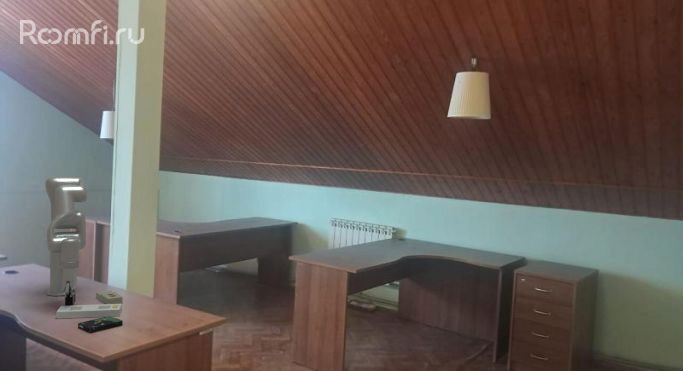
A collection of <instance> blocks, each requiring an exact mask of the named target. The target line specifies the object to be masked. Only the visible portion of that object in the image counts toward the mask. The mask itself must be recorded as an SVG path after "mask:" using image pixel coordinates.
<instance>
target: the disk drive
mask: <svg viewBox="0 0 683 371" xmlns="http://www.w3.org/2000/svg"><path fill="white" fill-rule="evenodd" d="M123 324H124V322H123V320H122V319H120V318H116V317H114V316H113V317H112V316H108V317H98V318H95V319H91V320H85V321H81V322H78V323H77V329H79V330H81V331H84V332H85V333H88V334H93V333H97V332H101V331H106V330H110V329H114V328H118V327H122V326H123Z"/></svg>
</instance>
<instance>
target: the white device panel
mask: <svg viewBox="0 0 683 371" xmlns="http://www.w3.org/2000/svg"><path fill="white" fill-rule="evenodd" d="M122 306H123V303H122V304H104V303H102V304H76V305H75V304H74V305H70V306H65V305H60V307H59V308H58V309H57V311H56V318H55V319H58V320H59V319H85V318H103V317H108V316H112V317H113V318H114V317H120V315H121V312H122V309H123V308H122Z"/></svg>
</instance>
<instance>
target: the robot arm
mask: <svg viewBox="0 0 683 371" xmlns="http://www.w3.org/2000/svg"><path fill="white" fill-rule="evenodd" d="M44 184H45V185H44V186H45V190H46V194H47V196H48V198H49V201H50V223H49V225H48V227H47V230H46V246H47V250H48V252H49V289H48V290H47V291H46V295H47V296H50V297H51V296H52V297H61V296H64V306H70V305H73V297H72V291H73V292H75V293H76V288H77V286H78V285H77V284H78V269H79V268H80V250H83V249H85V248H86V244H87V232H86V231H87V228H86V227H87V226H86V224H87V223H86V222H87V221H86V215H85V213H84V212H83V211H82V210H81V209H80V210H79V209H75V208H76V206H75V203H84V202H86V201H87V199H88V189H87V185H86V182H85V181H84V179H83V178H82V177H80V176H52V177H51V176H50V177H48V178H46V180H45V183H44ZM55 230H73V231H56V232H54V231H55ZM70 292H71V294H70Z"/></svg>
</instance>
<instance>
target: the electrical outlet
mask: <svg viewBox="0 0 683 371" xmlns="http://www.w3.org/2000/svg"><path fill="white" fill-rule="evenodd" d="M95 298H96V299H97V300H98V301H100V302H101V303H102V302H103V303H102V304H122V305H123V298H124V297H123V296H122V295H120V294H119V293H118V292H116V291H112V290H103V291H96V292H95Z"/></svg>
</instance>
